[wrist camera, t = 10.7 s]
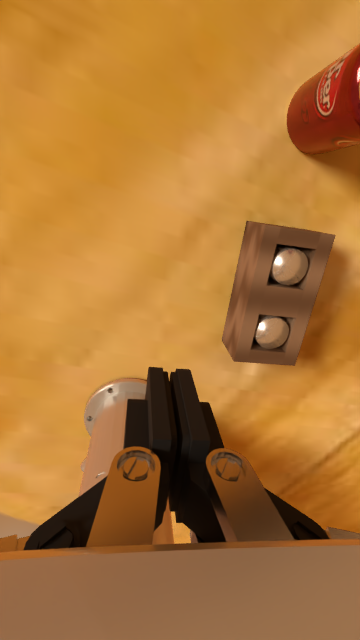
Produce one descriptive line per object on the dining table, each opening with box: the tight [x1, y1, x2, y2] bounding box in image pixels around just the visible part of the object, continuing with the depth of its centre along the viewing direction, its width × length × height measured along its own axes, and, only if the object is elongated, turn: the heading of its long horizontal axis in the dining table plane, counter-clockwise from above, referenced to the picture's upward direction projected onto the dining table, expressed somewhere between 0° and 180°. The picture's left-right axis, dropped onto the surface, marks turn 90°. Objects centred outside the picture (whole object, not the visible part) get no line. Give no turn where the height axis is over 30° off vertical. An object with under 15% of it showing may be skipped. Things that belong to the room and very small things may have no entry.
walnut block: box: [222, 221, 335, 366], centre depth 37 cm, size 16×8×6 cm, turn 172°
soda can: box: [287, 44, 360, 154], centre depth 28 cm, size 7×7×12 cm
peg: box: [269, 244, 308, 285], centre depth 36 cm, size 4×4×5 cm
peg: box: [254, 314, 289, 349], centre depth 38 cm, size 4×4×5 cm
